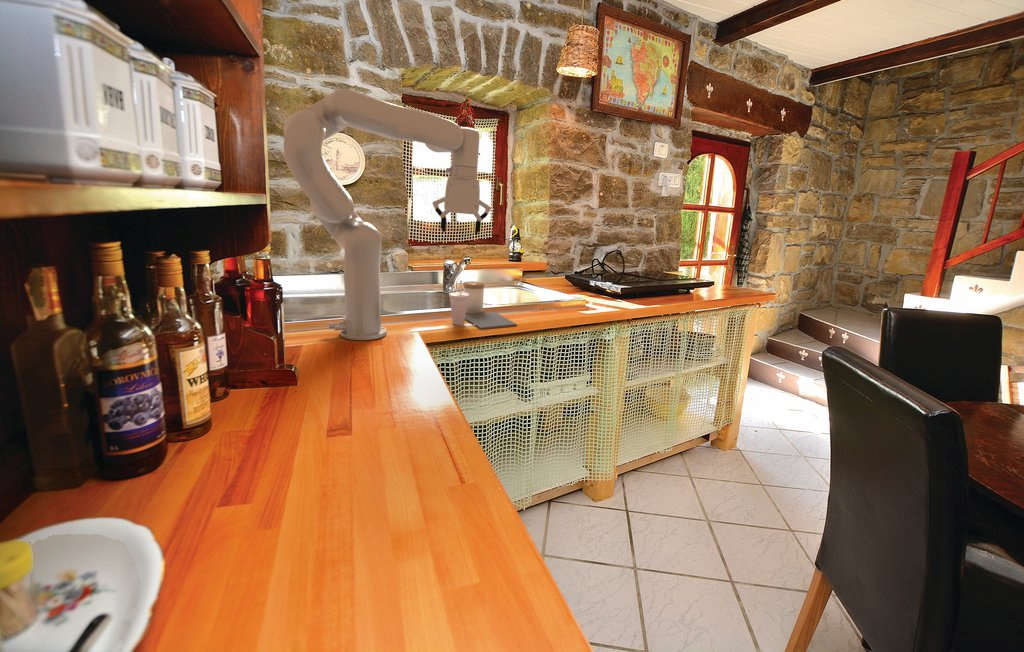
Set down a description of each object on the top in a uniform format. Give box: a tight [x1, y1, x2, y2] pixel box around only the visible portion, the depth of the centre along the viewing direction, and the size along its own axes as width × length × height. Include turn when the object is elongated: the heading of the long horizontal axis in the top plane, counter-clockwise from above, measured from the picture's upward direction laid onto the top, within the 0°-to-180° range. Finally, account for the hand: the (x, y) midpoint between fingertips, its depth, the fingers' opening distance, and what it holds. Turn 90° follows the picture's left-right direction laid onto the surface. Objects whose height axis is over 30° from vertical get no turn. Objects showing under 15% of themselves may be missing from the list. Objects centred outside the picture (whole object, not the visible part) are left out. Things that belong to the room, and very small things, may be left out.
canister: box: [462, 280, 485, 314], centre depth 168 cm, size 7×7×10 cm
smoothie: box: [448, 280, 469, 326], centre depth 151 cm, size 6×6×14 cm
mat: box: [465, 311, 518, 330], centre depth 158 cm, size 13×16×1 cm
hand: (460, 233), depth 144 cm, fingers open, 9 cm apart
